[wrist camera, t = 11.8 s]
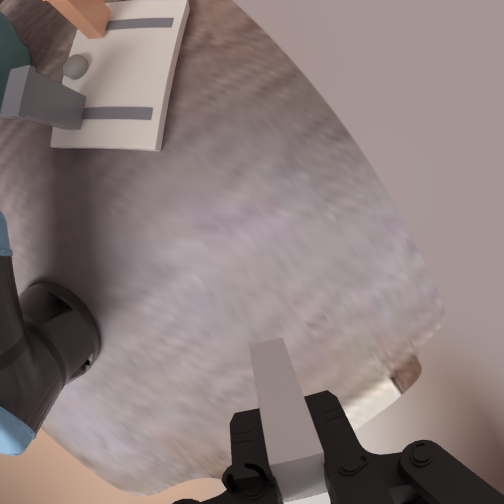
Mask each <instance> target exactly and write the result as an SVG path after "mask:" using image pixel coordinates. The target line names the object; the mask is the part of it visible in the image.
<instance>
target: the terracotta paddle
mask: <svg viewBox="0 0 504 504" xmlns="http://www.w3.org/2000/svg"><path fill="white" fill-rule="evenodd" d="M42 1H48V2H49V3H50V4H51V5H53V6H54V7H55V8H56V9H57V10H58V11H59V12H60V13H61V14H62V15H64V16H65V17H66V18H67V19H68V20H69V21H70V22H71V23H72V24H73V25H74V26H75V27H76V28H78V29H79V30H80V31H81V32H82V33H83V34H84V35H85V36H86V37H87V38H88V39H94V38H103V35H104V32H105V29H106V26H107V23H108V20H109V17H110V14H111V11H110V9H109V8H108V6H107V5H106V4H105V2H104V1H103V0H42Z"/></svg>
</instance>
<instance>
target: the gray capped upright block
mask: <svg viewBox="0 0 504 504" xmlns="http://www.w3.org/2000/svg"><path fill="white" fill-rule="evenodd" d="M85 101H86V96H84V95H82V94H80V93H78V92H76V91H74V90H72V89H70V88H69V87H67V86H65V85H63V84H61V83H59V82H57V81H55V80H53V79H51V78H49V77H47V76H45V75H43V74H41V73H39V72H36V67H34V66H32V65H27V66H23V67H18V68H14V69H11V71H10V74H9V78H8V82H7V86H6V90H5V94H4V99H3V103H2V108H1V113H0V119H6V120H7V119H20V120H25V121H29V122H34V123H39V124H43V125H47V126H52V127H56V128H60V129H64V130H80V129H81V123H82V117H83V111H84V106H85Z"/></svg>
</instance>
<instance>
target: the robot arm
mask: <svg viewBox="0 0 504 504" xmlns="http://www.w3.org/2000/svg"><path fill="white" fill-rule="evenodd" d="M11 256H13V255H12V250H11V249H10V244H9V237H8V230H7V222H6V219H5V216H4V214H3V213H2V212H1V211H0V453H3V454H6V455H10V456H16V455H20V454H21V453H23V452H24V451H25V450H26V448H27V447H28V445H29V444H30V442H31V441H32V440H33V439H35V438H36V434H37V432H38V430H39V429H40V427H41V425H42V423H43V421H44V420H45V418H46V416H47V414H48V413H49V411H50V409H51V407H52V406H53V404H54V402H55V400H56V399H57V397H58V395H59V394H60V392H61V390H62V389H63V387H64V386H65V385H66V384H68V383H70V382H71V381H73V380H75V379H76V378H78V377H80V376H81V375H83V374H85V373H86V372H87V371H88V370H89V369H90V368H91V366H92V365H93V363H94V361H95V360H96V358H97V356H98V353H99V347H100V339H99V333H98V329H97V326H96V324H95V321H94V319H93V317H92V315H91V314H90V312H89V311H88V309H87V308H86V306H85V305H84V304H83V303H82V302H81V301H80V300H79V299H78V298H77V297H76V296H75V295H74V294H73V293H72V292H70V291H69V290H67V289H66V288H64V287H62V286H60V285H57V284H54V283H49V282H41V283H37V284H34V285H32V286H31V287H29V288H28V289H26V290H25V291H24V292H22V293H21V294H20V296H19V297H18V294H17V289H16V283H15V278H14V272H13V265H12V257H11ZM249 347H250V353H251V360H252V366H253V372H254V378H255V384H256V390H257V396H258V402H259V408H258V409H253V410H248V411H243V412H238V413H235V414H234V416H233V418H232V420H231V422H230V435H231V436H230V438H231V455H232V465H231V466H229V467H228V468H227V469H226V471H225V472H224V473H223V476H222V482H223V484H224V486H225V487H226V489H227V490H226V491H225V492H224V493H222V494H220V495H218V496H216V497H214V498H211V499H209V500H206V501H203V502H199V501H196V500H193V499H181V500H178V501H175V502H174V503H172V504H284V502H289V501H293V500H298V499H302V498H306V497H310V496H314V495H318V494H321V493H325V492H327V491H328V494H329V497H330V501H331V504H504V495H502V494H501V493H500V492H498V491H497V490H496V489H494V488H493V487H492V486H490V485H489V484H488V483H486V482H485V481H484V480H483V479H481V478H480V477H479V476H477V475H476V474H475V473H474V472H472V471H471V470H470V469H468V468H467V467H466V466H464V465H463V464H462V463H461V462H459V461H458V460H457V459H455V458H454V457H453V456H452V455H450V454H449V453H448V452H447V451H445V450H444V449H443V448H442V447H441V446H439V445H438V444H436V443H434V442H432V441H429V440H419V441H415V442H413V443H411V444H409V445H408V446H407V447H406V448H405V449H404V450H403V451H402V452H399V453H392V454H384V455H378V454H373V453H370V452H368V451H366V450H365V449H364V448H363V447H362V446H361V445H360V443H359V441H358V439H357V437H356V435H355V433H354V431H353V429H352V427H351V425H350V423H349V421H348V419H347V416H346V415H345V412H344V410H343V409H342V406H341V404H340V402H339V400H338V398H337V397H336V396H335V395H333V394H332V393H331V392H329V391H328V390H326V391H323V392H319V393H316V394H312V395H309V396H305V397H304V396H303V393H302V390H301V388H300V385H299V382H298V379H297V377H296V374H295V371H294V368H293V365H292V363H291V360H290V357H289V354H288V352H287V349H286V346H285V343H284V340H283V338H278V339H274V340H270V341H266V342H261V343H257V344H253V345H249Z"/></svg>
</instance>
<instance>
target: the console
mask: <svg viewBox="0 0 504 504" xmlns="http://www.w3.org/2000/svg"><path fill="white" fill-rule="evenodd" d="M105 4H106V5H107V6H108V8H109V9H110V11H111V14H110V17H109V20H108V23H107V26H106V29H105V32H104V35H103V38H94V39H88V38H87V37H86V36H85V35H84V34H83V33H82V32H81V31H80V30H79V29H78V30H77V32H76V35H75V38H74V41H73V45H72V48H71V51H70V54H69V58H68V59H67V60H66V61H65V63H64V65H63V68H62V71H63V74H64V76H63V80H62V84H63V85H65V86H67V87H69V88H70V89H72V90H74V91H76V92H78V93H80V94H82V95H84V96H86V101H85V106H84V111H83V117H82V123H81V129H80V130H64V129H60V128H56V127H53V130H52V137H51V144H50V147H53V148H86V149H122V150H142V151H157V152H161V146H162V140H163V133H164V127H165V120H166V114H167V109H168V103H169V98H170V92H171V87H172V82H173V77H174V73H175V68H176V63H177V59H178V55H179V50H180V46H181V42H182V38H183V34H184V30H185V26H186V22H187V19H188V15H189V11H190V7H189V2H188V0H131V1H120V2H112V3H105Z"/></svg>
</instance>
